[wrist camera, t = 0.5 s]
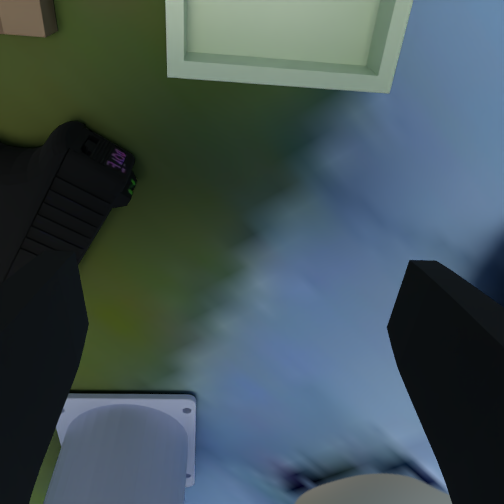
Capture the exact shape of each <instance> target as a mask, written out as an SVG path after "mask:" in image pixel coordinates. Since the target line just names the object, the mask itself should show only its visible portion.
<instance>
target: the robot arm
mask: <svg viewBox="0 0 504 504" xmlns="http://www.w3.org/2000/svg"><path fill="white" fill-rule="evenodd" d="M88 325H89V323H88V317H87V312H86V307H85V301H84V296H83V291H82V285H81V280H80V275H79V269H78V264H77V259H76V254H75V251H44V252H42V253H41V254H39V255H38V256H36V257H35V258H34V259H32V260H31V261H30V262H28V263H27V264H26V265H24V266H23V267H22V268H20V269H19V270H18V271H17V272H15V273H14V274H13V275H11V276H10V277H9V278H7V279H6V280H5V281H4V282H2V283H1V284H0V504H29V501H30V498H31V494H32V491H33V488H34V485H35V482H36V479H37V476H38V473H39V470H40V467H41V465H42V462H43V459H44V457H45V454H46V452H47V449H48V446H49V444H50V441H51V438H52V436H53V433H54V431H55V428H56V429H57V433H58V436H59V440H60V443H61V450H60V453H59V456H58V459H57V462H56V466H55V469H54V472H53V475H52V478H51V481H50V484H49V487H48V490H47V494H46V497H45V500H44V503H43V504H184V500H185V487H191V486H192V485H194V482H195V435H196V398H195V397H194V396H192V395H189V394H76V393H69V391H70V389H71V386H72V383H73V381H74V378H75V375H76V373H77V370H78V367H79V363H80V359H81V355H82V351H83V347H84V343H85V338H86V334H87V330H88ZM387 330H388V334H389V338H390V342H391V346H392V350H393V353H394V357H395V360H396V363H397V367H398V370H399V372H400V375H401V377H402V379H403V382H404V384H405V387H406V389H407V391H408V394H409V396H410V399H411V401H412V403H413V406H414V408H415V410H416V413H417V415H418V417H419V420H420V422H421V424H422V427H423V429H424V431H425V434H426V436H427V438H428V440H429V443H430V445H431V447H432V450H433V452H434V454H435V457H436V459H437V461H438V464H439V467H440V469H441V472H442V475H443V477H444V480H445V482H446V485H447V488H448V492H449V495H450V498H451V501H452V504H504V308H503V307H502V306H501V305H499V304H498V303H497V302H495V301H494V300H492V299H491V298H490V297H488V296H487V295H485V294H484V293H483V292H481V291H480V290H478V289H477V288H476V287H474V286H473V285H472V284H470V283H469V282H467V281H466V280H464V279H463V278H462V277H460V276H459V275H457V274H456V273H454V272H453V271H451V270H450V269H448V268H447V267H445V266H444V265H442V264H440V263H439V262H437V261H423V260H409V263H408V266H407V269H406V272H405V275H404V278H403V281H402V284H401V287H400V290H399V293H398V296H397V299H396V302H395V305H394V308H393V311H392V314H391V317H390V320H389V323H388V326H387Z"/></svg>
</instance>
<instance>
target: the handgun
mask: <svg viewBox="0 0 504 504" xmlns="http://www.w3.org/2000/svg"><path fill="white" fill-rule="evenodd" d="M84 126H85V124H82V123H80V122H78V121H70V122H66V123H64V124H62V125H60V126H58V127H57V128H56V129H55V130H54V131H53V132H52V133H51V135H50V136H49V138H48V139H47V141H46V143H45V144H44V145H43V146H41V147H37V148H31V149H30V148H21V147H11V146H8V145H5V144H3V143H0V284H1V283H2V282H4V281H5V280H6V279H7V278H9V277H10V276H11V275H13V274H14V273H15V272H17V271H18V270H19V269H20V268H22V267H23V266H24V265H26V264H27V263H28V262H30V261H31V260H32V259H34V258H35V257H36V256H38V255H39V254H41V253H42V252H44V251H75V254H76V259H77V264H78V265H79V263H80V261H81V259H82V258H83V256H84V254H85V253H86V251H87V249H88V248H89V246H90V244H91V243H92V241H93V239H94V238H95V236H96V234H97V233H98V231H99V229H100V228H101V226H102V224H103V222H104V221H105V219H106V217H107V216H108V214H109V212H110V211H111V209H112V208H116V207H122V206H127V205H128V203H129V201H130V200H131V197H132V194H133V192H132V191H133V189H134V188H135V185H136V182H137V179H136V177H135V175H134V173H133V171H132V168H133V165H134V162H135V157H134V156H133V155H132V154H131V153H130V152H128V151H126V150H124V149H123V148H121V147H119V146H117V145H115V144H114V143H112V142H110V141H108V140H107V139H105V138H103V137H101V136H100V135H98V134H96V133H94V132H93V131H91V130H89V129H87V128H86V127H85V128H84ZM44 197H45V198H44ZM43 199H44V200H43ZM42 201H43V202H42ZM41 203H42V204H41ZM40 205H41V206H40ZM39 207H40V208H39ZM38 209H39V210H38ZM37 211H38V212H37Z"/></svg>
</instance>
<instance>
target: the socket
mask: <svg viewBox="0 0 504 504" xmlns="http://www.w3.org/2000/svg"><path fill="white" fill-rule="evenodd" d="M57 31H58V29H57V23H56V16H55V9H54V3H53V0H0V34H10V35H23V36H35V37H47V36H49V35H51V34H53V33H55V32H57Z"/></svg>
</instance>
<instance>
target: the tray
mask: <svg viewBox="0 0 504 504" xmlns="http://www.w3.org/2000/svg"><path fill="white" fill-rule="evenodd" d="M165 1H166V42H167V77H172V78H186V79H199V80H213V81H226V82H240V83H253V84H267V85H281V86H294V87H308V88H321V89H335V90H348V91H362V92H375V93H390V89H391V85H392V81H393V77H394V74H395V70H396V66H397V62H398V58H399V54H400V50H401V46H402V42H403V38H404V34H405V30H406V27H407V23H408V19H409V15H410V11H411V7H412V3H413V0H165Z"/></svg>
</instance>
